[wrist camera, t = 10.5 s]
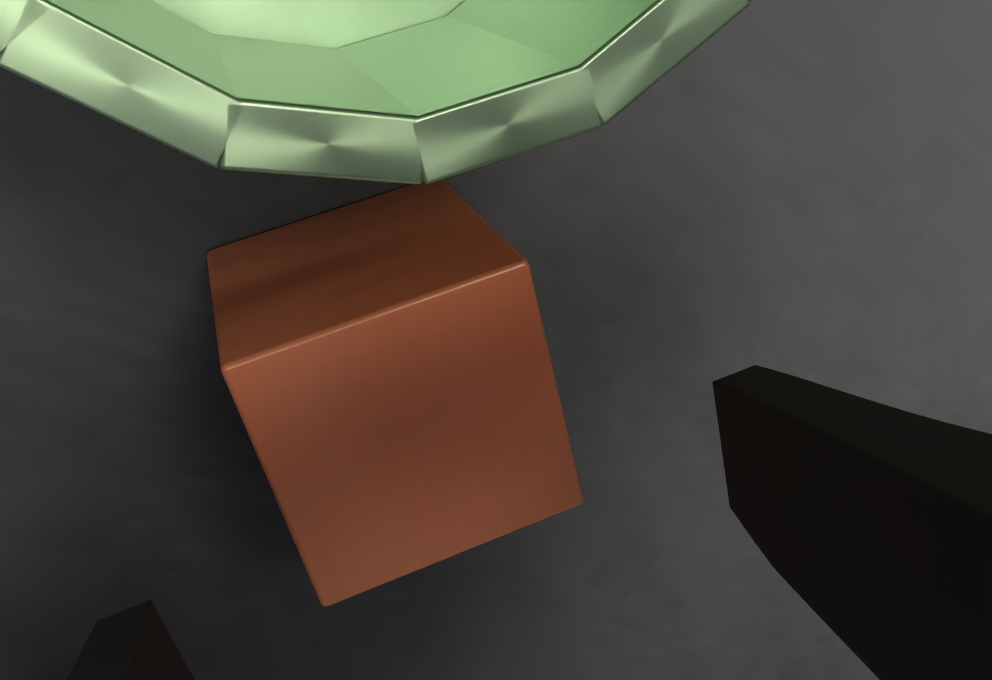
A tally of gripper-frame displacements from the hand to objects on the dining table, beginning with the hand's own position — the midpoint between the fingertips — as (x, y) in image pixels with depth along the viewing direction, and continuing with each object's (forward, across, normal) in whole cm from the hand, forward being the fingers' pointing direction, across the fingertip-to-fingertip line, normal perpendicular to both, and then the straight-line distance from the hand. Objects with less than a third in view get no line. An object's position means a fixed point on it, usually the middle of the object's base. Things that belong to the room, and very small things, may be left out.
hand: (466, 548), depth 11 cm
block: (+8, 0, 0) cm, 8 cm away
